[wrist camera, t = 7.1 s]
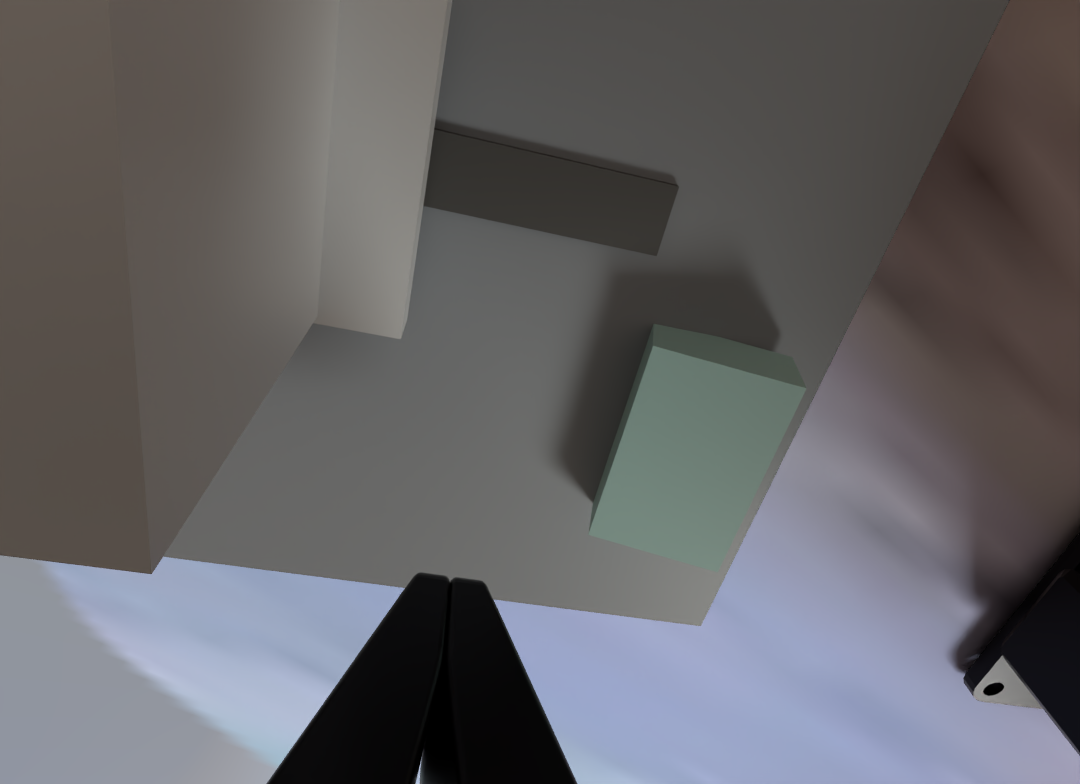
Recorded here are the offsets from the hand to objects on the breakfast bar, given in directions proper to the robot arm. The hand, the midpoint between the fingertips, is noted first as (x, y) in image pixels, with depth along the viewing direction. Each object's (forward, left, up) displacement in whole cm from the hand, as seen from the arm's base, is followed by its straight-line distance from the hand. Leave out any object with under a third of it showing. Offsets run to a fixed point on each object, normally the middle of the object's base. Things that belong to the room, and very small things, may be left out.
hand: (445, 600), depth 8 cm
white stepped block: (+3, -4, -2) cm, 6 cm away
